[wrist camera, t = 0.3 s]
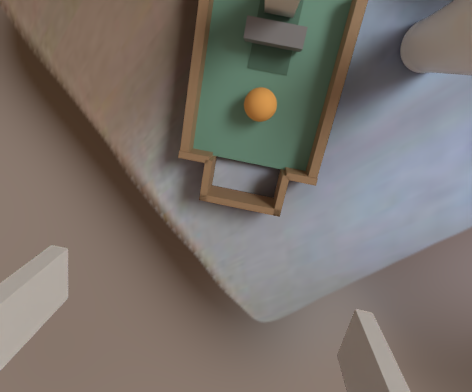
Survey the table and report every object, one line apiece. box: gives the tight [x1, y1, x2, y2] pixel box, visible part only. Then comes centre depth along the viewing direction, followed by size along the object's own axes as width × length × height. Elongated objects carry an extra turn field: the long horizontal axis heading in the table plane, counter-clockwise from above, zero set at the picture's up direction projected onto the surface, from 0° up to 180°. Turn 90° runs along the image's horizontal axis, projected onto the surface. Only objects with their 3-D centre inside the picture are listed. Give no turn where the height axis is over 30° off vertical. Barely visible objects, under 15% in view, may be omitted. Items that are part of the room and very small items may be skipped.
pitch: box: [178, 0, 368, 217], centre depth 35 cm, size 24×16×4 cm, turn 169°
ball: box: [244, 87, 277, 122], centre depth 34 cm, size 4×4×4 cm
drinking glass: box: [400, 0, 472, 75], centre depth 26 cm, size 7×7×15 cm
